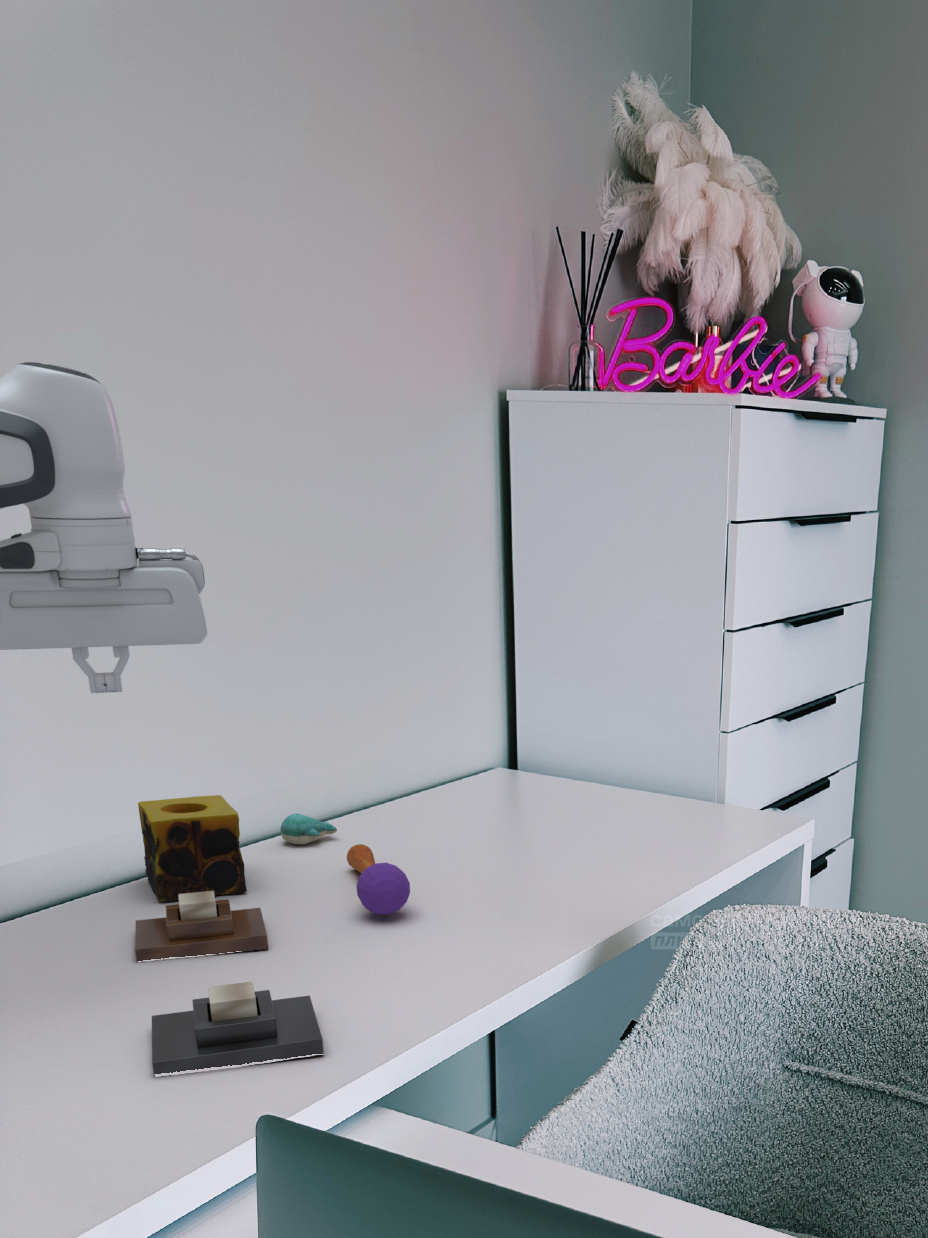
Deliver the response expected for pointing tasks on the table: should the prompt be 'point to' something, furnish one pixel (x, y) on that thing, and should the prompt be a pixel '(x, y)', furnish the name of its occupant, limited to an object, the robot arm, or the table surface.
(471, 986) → the table surface
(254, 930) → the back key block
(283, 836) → the whale figurine
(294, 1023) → the dark grey socket base
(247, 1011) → the front key
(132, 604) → the robot arm
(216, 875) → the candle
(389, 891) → the purple maraca
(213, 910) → the back key
